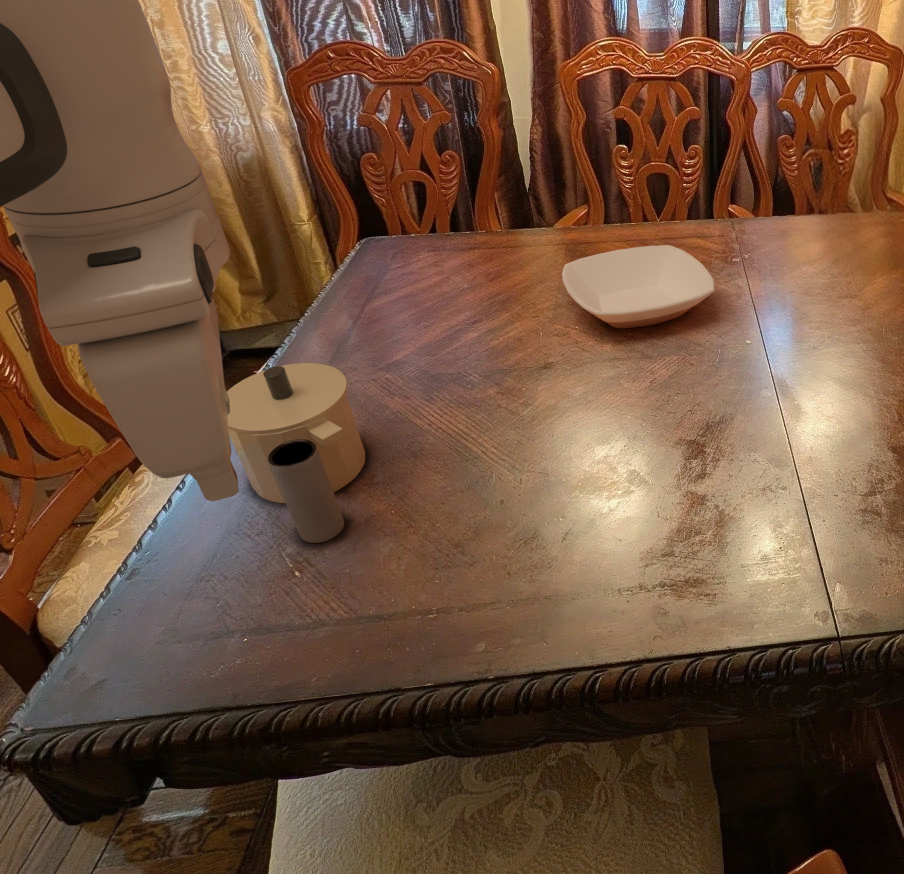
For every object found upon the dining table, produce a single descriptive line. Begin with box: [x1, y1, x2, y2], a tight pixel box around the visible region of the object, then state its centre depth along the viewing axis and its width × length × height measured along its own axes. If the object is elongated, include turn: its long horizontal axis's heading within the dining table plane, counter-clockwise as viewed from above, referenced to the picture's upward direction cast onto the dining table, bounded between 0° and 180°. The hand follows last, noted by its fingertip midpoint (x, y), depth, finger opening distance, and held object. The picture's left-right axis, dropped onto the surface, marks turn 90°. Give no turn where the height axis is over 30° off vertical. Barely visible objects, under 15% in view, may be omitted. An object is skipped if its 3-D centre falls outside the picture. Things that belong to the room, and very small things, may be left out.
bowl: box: [561, 244, 716, 329], centre depth 122 cm, size 22×22×5 cm
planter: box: [268, 439, 345, 544], centre depth 82 cm, size 4×4×10 cm
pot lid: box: [226, 362, 349, 434], centre depth 87 cm, size 13×13×4 cm
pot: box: [229, 394, 366, 504], centre depth 91 cm, size 12×18×10 cm
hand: (220, 449), depth 50 cm, fingers open, 8 cm apart
